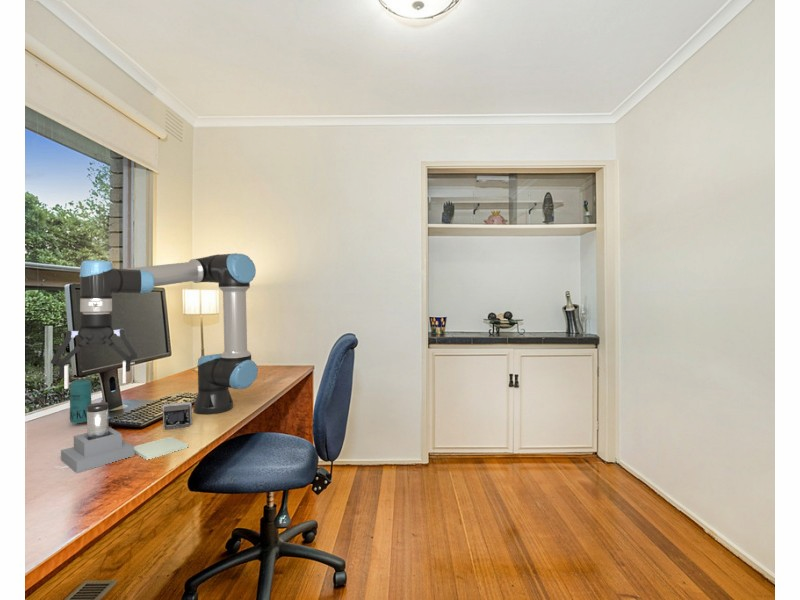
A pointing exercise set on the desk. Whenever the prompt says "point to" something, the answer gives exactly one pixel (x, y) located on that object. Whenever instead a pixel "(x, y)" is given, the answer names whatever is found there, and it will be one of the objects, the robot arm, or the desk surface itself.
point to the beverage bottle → (79, 399)
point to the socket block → (96, 451)
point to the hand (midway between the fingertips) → (96, 385)
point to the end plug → (97, 420)
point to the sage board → (159, 447)
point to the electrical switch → (177, 415)
